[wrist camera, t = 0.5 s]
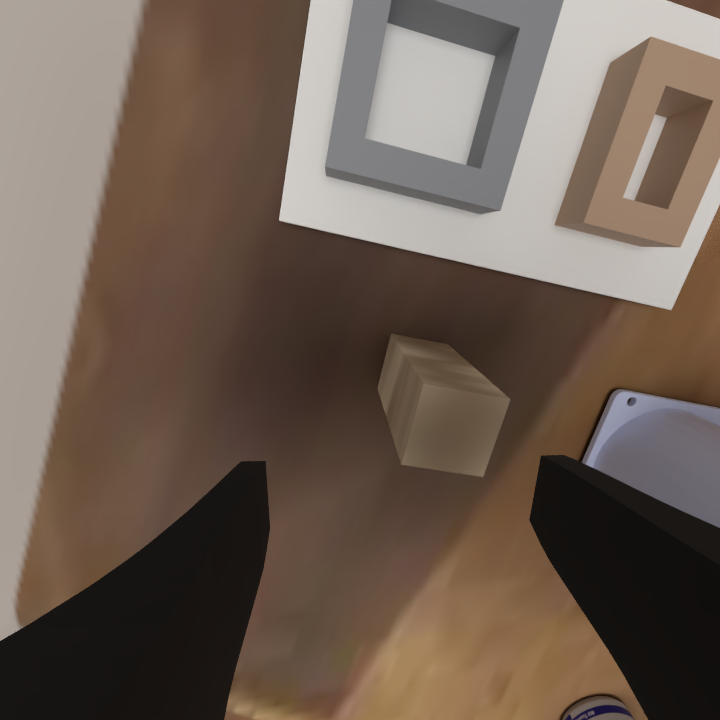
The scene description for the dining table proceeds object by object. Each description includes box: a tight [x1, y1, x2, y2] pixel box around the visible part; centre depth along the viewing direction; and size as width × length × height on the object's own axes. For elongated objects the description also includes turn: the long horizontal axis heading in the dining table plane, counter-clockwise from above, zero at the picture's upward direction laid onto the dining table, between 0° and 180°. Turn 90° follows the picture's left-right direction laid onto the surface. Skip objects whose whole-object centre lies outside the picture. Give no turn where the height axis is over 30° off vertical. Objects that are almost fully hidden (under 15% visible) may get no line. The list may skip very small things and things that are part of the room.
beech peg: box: [377, 333, 511, 477], centre depth 16 cm, size 3×3×7 cm
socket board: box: [279, 0, 720, 310], centre depth 15 cm, size 19×11×3 cm, turn 78°
